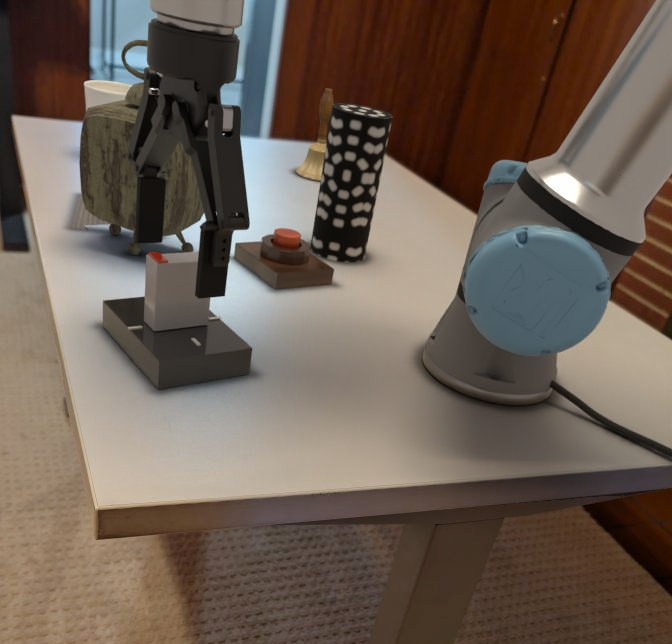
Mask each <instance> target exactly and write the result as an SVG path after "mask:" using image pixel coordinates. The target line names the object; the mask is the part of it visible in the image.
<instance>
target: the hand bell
mask: <svg viewBox="0 0 672 644" xmlns="http://www.w3.org/2000/svg"><path fill="white" fill-rule="evenodd" d="M333 104H334V96H333V89H332V88H329V87H327V88H326V87H325V89H324V92H323V94H322V96H321V99H320V102H319V108H318V117H319V127H318V132H317V133H318V135H317V140H316V142H315V143H312V144H311V145H309V146H308V151H307V154H306V156H305V158H304V161H303V162H302V164H301V165H300V166H298V167H297V168H296V169H295V173H296V175H298V176H299V177H302V178H303V179H307V180H311V181H315V182H321V176H322V169H323V163H324V157H325V150H326V144H327V138H328V129H329V124H330V119H331V112H332V106H333Z"/></svg>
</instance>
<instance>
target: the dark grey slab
mask: <svg viewBox="0 0 672 644" xmlns="http://www.w3.org/2000/svg"><path fill="white" fill-rule="evenodd" d="M144 303H145V296H136V297H125V298H114V299H113V298H112V299H105V300H102V328H103V329H104V330H105V331H106V332H107V333H108V335H110V337H111V338H112V339H113V340H114V341H115V342H116V344H118V345H119V346H120V348H121V349H122V350H123V352H124V353H126V354H127V356H128V357H129V358H130V359H131V360H132V361H133V363H134V364H135V365H136V366H137V367H138V368H139V369H140V370H141V372H142V373H143V374H144V375H145V376H146V377H147V379H148V380H149V381H150V382H151V383H152V384H153V386H154V387H156V389H157V390H164V389H169V388H175V387H176V388H177V387H180V386H181V387H182V386H188V385H193V384H199V383H204V382H210V381H216V380H221V379H223V380H224V379H228V378H234V377H239V376H245V375H250V372H251V365H252V358H253V357H252V356H253V350H254V348H253V347H252V346H251V345H250V344H249V343H248V342H246V341H245V340H244V339H243V338H242V337H241V336H240V335H238V333H236V332H235V331H234V330H233V329H232V328H231V327H230V326H229V325H227V324H226V323H225V322H224V321H223V320H222V317H221V316H220V315H219V316H217V315H216V314H215V313H214V312H213V311H212V310H210V309H209V319H208V325H203V326H194V327H186V328H178V329H170V330H162V331H153V330H152V329H151V328H150V327H149V326H148V325H147V324H146V323H145V322H144Z"/></svg>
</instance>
